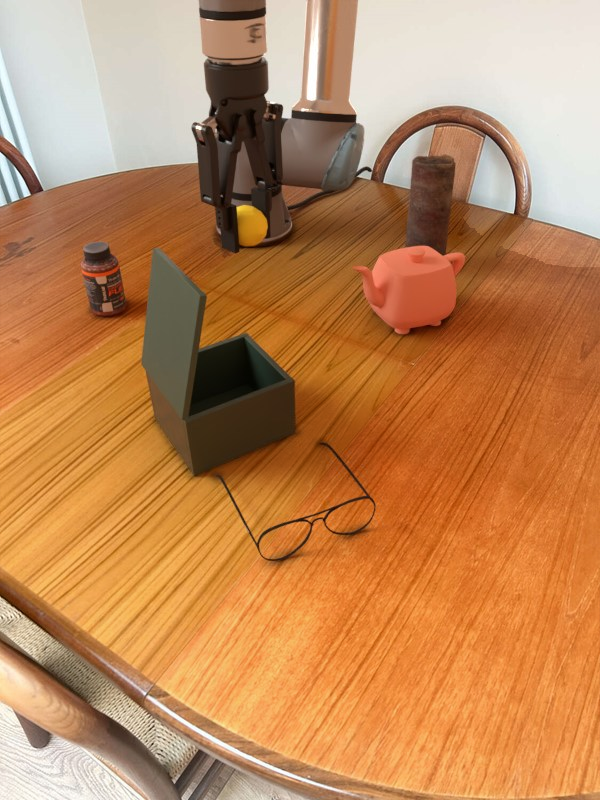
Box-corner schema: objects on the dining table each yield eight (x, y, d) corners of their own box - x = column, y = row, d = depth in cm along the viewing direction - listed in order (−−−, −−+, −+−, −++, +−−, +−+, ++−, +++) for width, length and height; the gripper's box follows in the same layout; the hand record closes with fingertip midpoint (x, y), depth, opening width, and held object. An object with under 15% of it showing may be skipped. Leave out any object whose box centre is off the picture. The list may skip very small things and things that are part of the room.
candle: (397, 271, 119) (408, 161, 107) (407, 254, 125) (419, 147, 112) (439, 279, 117) (454, 167, 104) (447, 261, 122) (463, 152, 110)
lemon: (278, 246, 90) (277, 208, 87) (247, 258, 88) (244, 219, 84) (247, 230, 94) (245, 194, 91) (216, 241, 92) (213, 204, 88)
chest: (250, 383, 94) (246, 332, 89) (295, 433, 86) (294, 380, 80) (154, 419, 88) (144, 366, 83) (194, 476, 80) (185, 422, 75)
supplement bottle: (118, 319, 108) (105, 257, 100) (85, 316, 109) (69, 253, 101) (132, 301, 112) (120, 239, 105) (100, 297, 113) (86, 236, 106)
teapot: (436, 288, 115) (446, 224, 107) (476, 322, 106) (489, 254, 99) (333, 313, 109) (335, 246, 101) (367, 351, 100) (372, 281, 92)
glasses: (259, 569, 70) (254, 535, 67) (217, 486, 81) (212, 454, 78) (377, 526, 74) (377, 492, 71) (322, 453, 86) (320, 422, 83)
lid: (159, 247, 75) (152, 247, 74) (207, 295, 67) (200, 295, 66) (146, 363, 83) (140, 364, 82) (188, 419, 74) (181, 420, 74)
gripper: (196, 76, 69) (215, 274, 84) (311, 49, 80) (310, 228, 94) (152, 66, 73) (177, 257, 88) (267, 41, 84) (272, 214, 98)
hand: (246, 242), depth 91 cm, fingers closed on lemon, 5 cm apart
